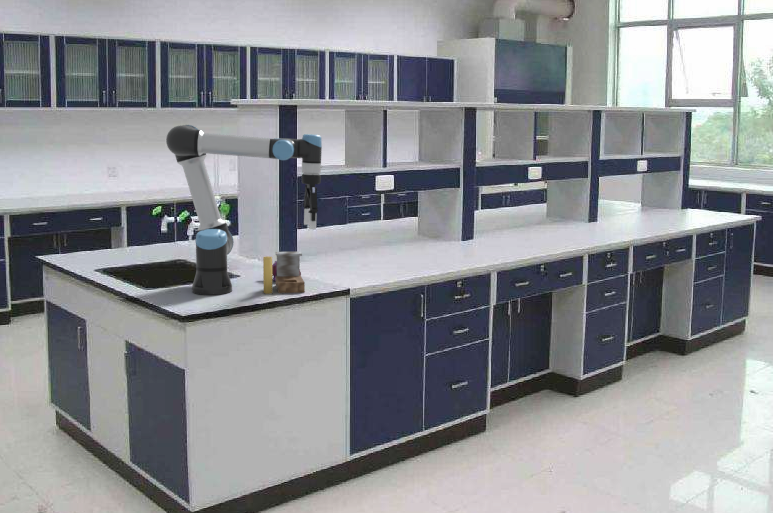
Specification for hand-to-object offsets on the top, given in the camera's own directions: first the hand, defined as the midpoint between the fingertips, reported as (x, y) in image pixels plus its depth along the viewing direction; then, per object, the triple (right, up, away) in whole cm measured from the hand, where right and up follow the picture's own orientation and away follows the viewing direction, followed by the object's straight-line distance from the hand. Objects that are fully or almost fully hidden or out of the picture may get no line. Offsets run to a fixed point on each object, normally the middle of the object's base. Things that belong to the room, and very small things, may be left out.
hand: (309, 227), depth 336 cm
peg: (-15, -26, -12) cm, 32 cm away
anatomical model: (-11, -22, +14) cm, 28 cm away
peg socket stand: (-8, -25, -4) cm, 26 cm away
